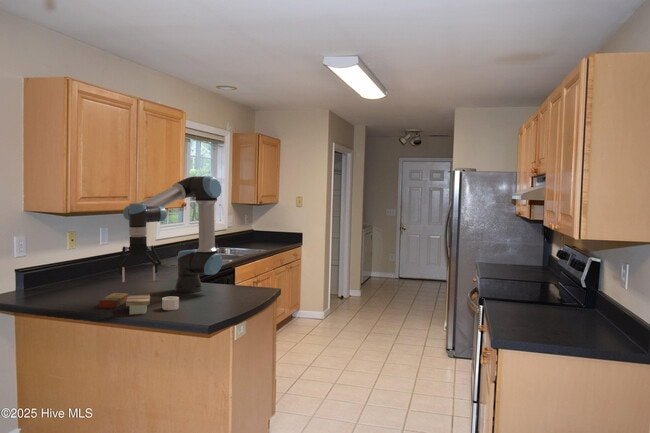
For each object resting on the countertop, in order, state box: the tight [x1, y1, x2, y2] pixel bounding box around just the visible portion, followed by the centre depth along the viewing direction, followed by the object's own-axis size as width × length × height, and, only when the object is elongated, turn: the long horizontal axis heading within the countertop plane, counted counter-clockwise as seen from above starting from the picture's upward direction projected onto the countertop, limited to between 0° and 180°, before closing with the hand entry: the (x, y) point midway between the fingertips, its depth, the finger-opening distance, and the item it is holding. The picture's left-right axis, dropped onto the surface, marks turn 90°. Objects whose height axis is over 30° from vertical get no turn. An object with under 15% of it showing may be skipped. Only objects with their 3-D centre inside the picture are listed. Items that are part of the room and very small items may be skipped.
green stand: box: [129, 305, 148, 315], centre depth 234 cm, size 15×7×4 cm, turn 18°
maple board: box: [125, 293, 151, 307], centre depth 234 cm, size 15×10×2 cm, turn 18°
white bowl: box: [161, 295, 180, 311], centre depth 238 cm, size 8×8×5 cm
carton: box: [98, 292, 129, 309], centre depth 246 cm, size 8×16×4 cm, turn 2°
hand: (139, 280), depth 234 cm, fingers open, 13 cm apart
